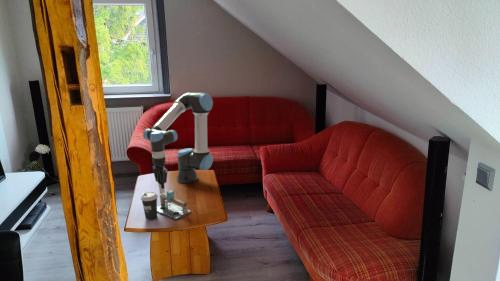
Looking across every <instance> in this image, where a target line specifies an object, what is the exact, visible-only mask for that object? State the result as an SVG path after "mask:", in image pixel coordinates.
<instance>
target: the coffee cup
mask: <svg viewBox="0 0 500 281" xmlns="http://www.w3.org/2000/svg"><path fill="white" fill-rule="evenodd" d="M140 200H141V202H142V205H143V206H142V207H143V211H144V216H145V219H146V220H147V221H154V220H156V219H157V218H158V212H157V206H158V194H157V192H155V191H153V190H152V191H151V190H150V191H145V192H143V193H142V194H141V196H140Z"/></svg>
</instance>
